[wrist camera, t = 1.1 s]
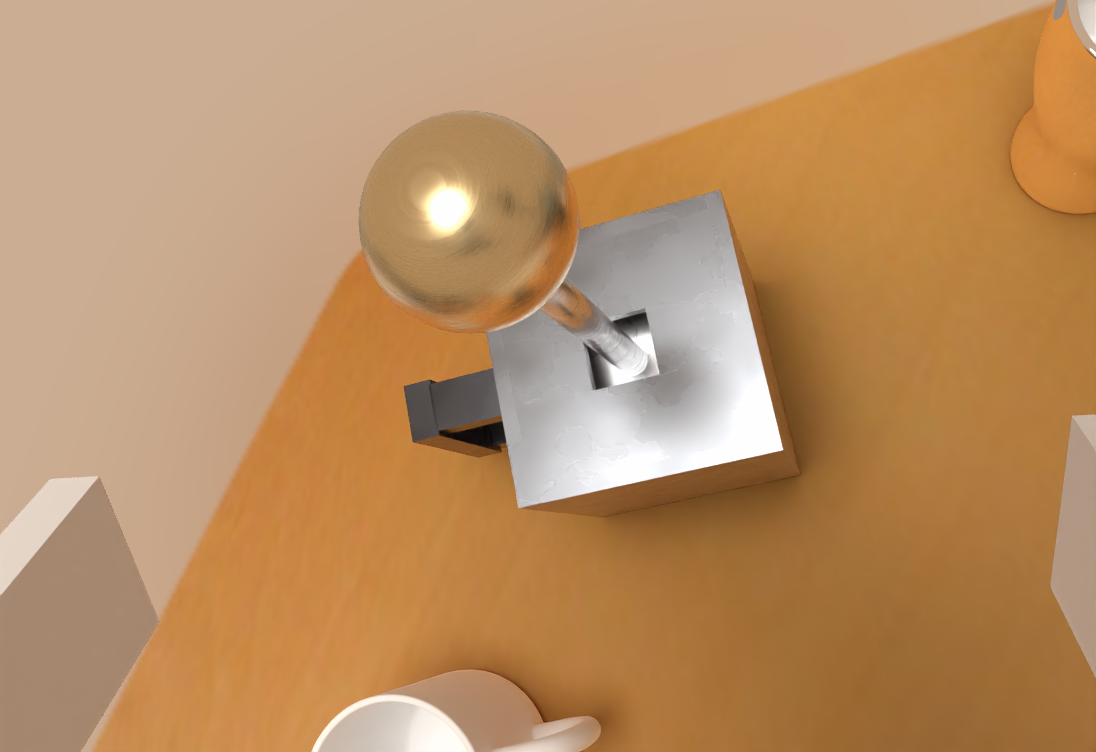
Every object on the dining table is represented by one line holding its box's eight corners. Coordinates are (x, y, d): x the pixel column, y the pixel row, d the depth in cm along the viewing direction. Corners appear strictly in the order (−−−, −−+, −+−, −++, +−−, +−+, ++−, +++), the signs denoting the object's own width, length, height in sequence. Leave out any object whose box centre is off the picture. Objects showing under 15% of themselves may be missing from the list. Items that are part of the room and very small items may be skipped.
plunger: (711, 246, 42) (574, -48, 21) (756, 438, 40) (656, 324, 19) (526, 296, 44) (233, 72, 23) (562, 481, 42) (281, 421, 21)
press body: (753, 280, 52) (719, 189, 38) (800, 475, 50) (783, 450, 36) (484, 350, 55) (368, 289, 42) (518, 535, 53) (407, 532, 40)
